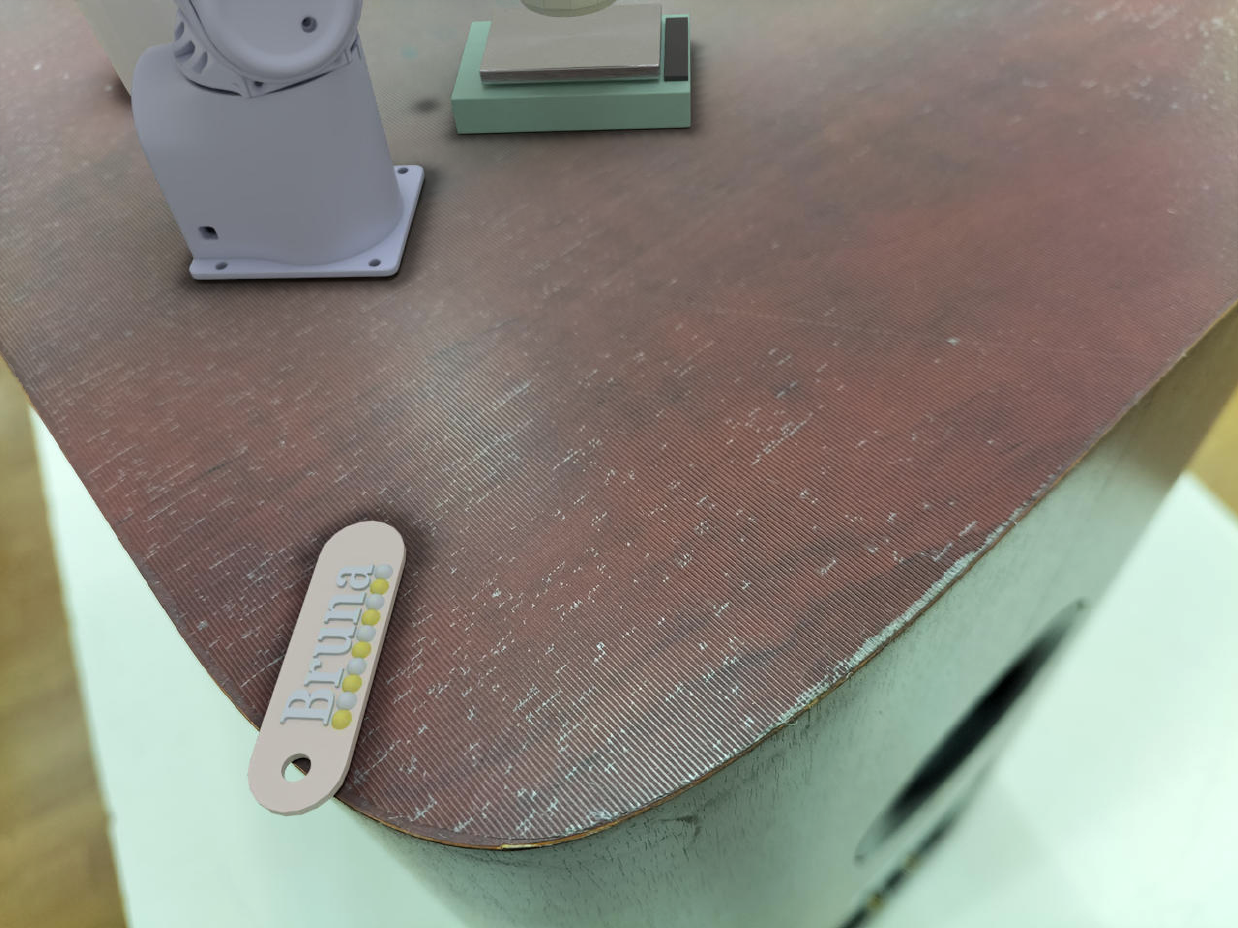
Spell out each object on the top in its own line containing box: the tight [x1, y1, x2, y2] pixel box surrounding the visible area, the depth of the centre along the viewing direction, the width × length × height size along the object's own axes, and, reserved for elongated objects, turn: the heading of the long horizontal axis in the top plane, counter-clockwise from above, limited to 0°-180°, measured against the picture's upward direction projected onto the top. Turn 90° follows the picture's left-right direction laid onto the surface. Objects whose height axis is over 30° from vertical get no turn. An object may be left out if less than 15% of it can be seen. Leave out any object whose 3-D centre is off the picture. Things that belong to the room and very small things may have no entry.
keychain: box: [246, 520, 407, 817], centre depth 32 cm, size 10×1×3 cm
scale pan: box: [479, 3, 663, 85], centre depth 52 cm, size 9×6×1 cm
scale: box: [450, 13, 692, 135], centre depth 53 cm, size 12×8×2 cm, turn 88°
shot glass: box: [74, 0, 179, 97], centre depth 55 cm, size 7×7×7 cm
